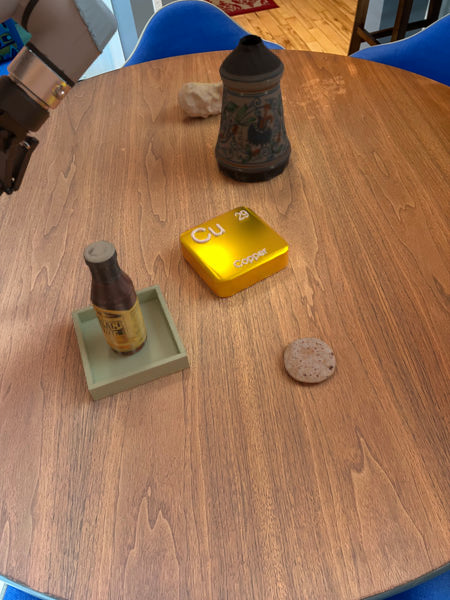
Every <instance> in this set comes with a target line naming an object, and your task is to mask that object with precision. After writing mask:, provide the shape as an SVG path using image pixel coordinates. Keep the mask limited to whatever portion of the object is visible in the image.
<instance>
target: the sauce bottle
mask: <svg viewBox="0 0 450 600" xmlns="http://www.w3.org/2000/svg"><path fill="white" fill-rule="evenodd" d="M83 259H84V263H85V265H86V266H87V267H88V270H89V272H90V275H91V282H90V284H91V285H90V294H89V295H90V296H89V297H90V298H89V299H90V302H91V305H93V308H94V310H95V313H96V316H97V319H98V321H99V323H100V326H101V328H102V331H103V333H104V336H105V339H106V341H107V343H108V345H109V346H110V347H111V349H112V350H113V351H114V352H115V353H116V354H120V355H132V354H134V353H136V352H138V351H139V350H141V349H142V348H143V346H144V345H145V343H146V339H147V333H146V327H145V324H144V320H143V316H142V312H141V309H140V305H139V301H138V298H137V294H136V291H137V290H135V286H134V283H133V280H132V278H131V277H130V276H129V274H128V273H127V272H125V271H124V270H123V269H122V268H121V267H120V265H119V261H118V252H117V249H116V246H115V244H113V243H112V242H110V241H107V240H96V241H93V242H91V243H89V244H88V245H87V246H86V247H85V248H84V250H83Z"/></svg>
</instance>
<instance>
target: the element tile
mask: <svg viewBox="0 0 450 600" xmlns="http://www.w3.org/2000/svg"><path fill="white" fill-rule="evenodd" d="M179 243H180V248H181V253H182V257H183V258H184V260H185V261H186V262H188V264H189V265H190V266H191V268H192V269H193V270H194V271H195V273H197V275H198V276H199V277H200V278H201V279H202V281H203V282H204V283H205V284H206V286H207V287H208V288H209V289H210V290H211V291H212V292H213V294H214V295H216V296H217V297H219V298H223V299H224V298H229V297H232V296H234V295H236V294H238V293H240V292H241V291H244V290H245V289H247V288H250V287H252V286H253V285H255V284H257V283H259V282H261V281H263V280H265V279H267V278H269V277H271V276H273V275H274V274H276V273H278V272H280V271H282V270H284V269H285V268H286V267H287V266H288V264H289V254H290V245H289V243H288V242H287V240H286V239H285V238H283V236H281V235H280V234H279V233H278V232H277V231H276V230H275V229H274V228H273V227H271V225H269V224H268V222H266V221H265V220H264V219H262V218H261V217H260V216H259V215H258V214H257V213H256V212H255V211H254V210H252V209H251V207H247V206H245V205H243V206H238V207H235V208H233V209H230V210H228V211H225V212H224V213H222V214H219V215H217V216H214V217H213V218H210V219H208V220H206V221H204V222H201V223H200V224H197V225H194V226H192V227H191V228H188V229H187V230H185V231H183V232H182V233H181V234H180V236H179Z"/></svg>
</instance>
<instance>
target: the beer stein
mask: <svg viewBox="0 0 450 600" xmlns="http://www.w3.org/2000/svg"><path fill="white" fill-rule="evenodd" d="M284 72H285V64H284V62H283V61H282V59H281V58H280V57H279V56H278V55H277V54H275V53H274V52H273V51H271V50H270V49H269V48H268V47H267V45H265V43H264V41H263V38H262V37H261V36H259V35H257V34H253V33H252V34H246V35H244V36H242V37H241V38H240V39H239V41H238V43H237V45H236V46H235V48H234V49H232V50H231V52H229V54H228V55H226V57H225V58H224V59H223V61H222V62H221V64H220V65H219V69H218V73H219V77H220V80H221V83H223V96H222V108H221V113H220V121H219V129H218V134H217V140H216V143H215V145H214V156H215V160H216V163H217V166H218V170H219V172H221V174H222V175H223V176H224V177H226V178H228V179H231V180H233V181H236V182H241V183H248V184H254V183H255V184H256V183H264V182H269V181H272V180H273V179H274V178H276V177H278V176H279V175H282V174H283V173H284V171H285V170H286V169H287V167H288V165H289V161H290V157H291V154H292V144H291V141H290V140H289V137H288V133H287V129H286V122H285V121H286V119H285V112H284V103H283V94H282V88H281V87H282V86H281V80H282V78H283V76H284Z"/></svg>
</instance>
